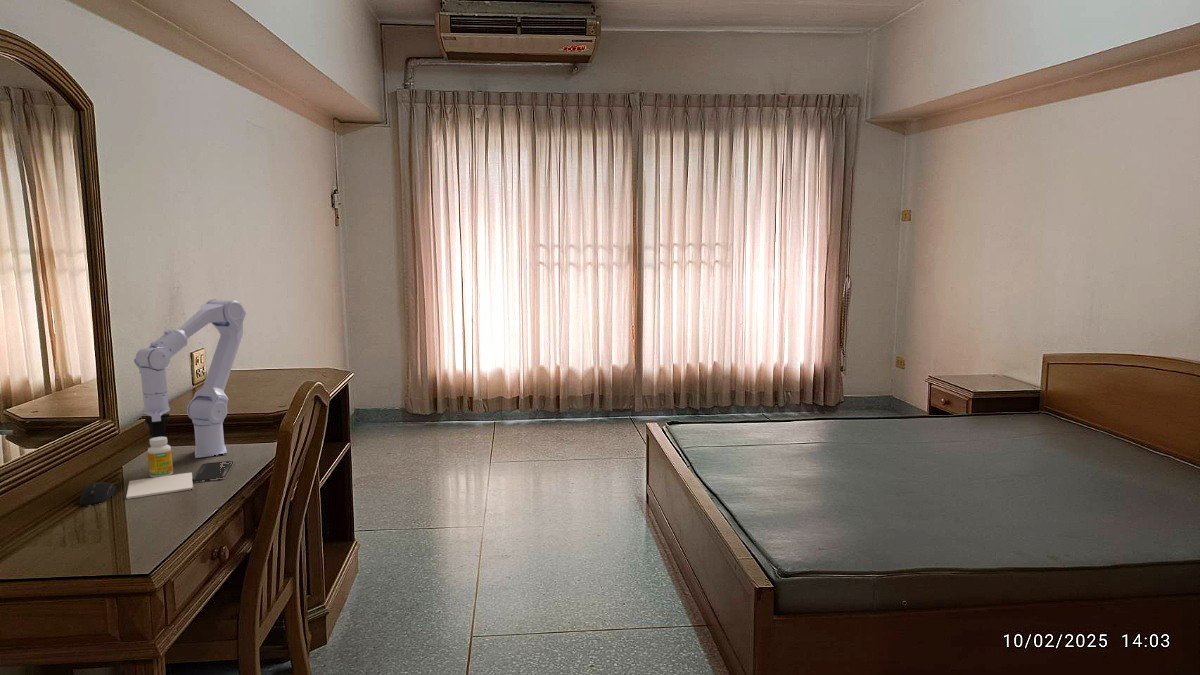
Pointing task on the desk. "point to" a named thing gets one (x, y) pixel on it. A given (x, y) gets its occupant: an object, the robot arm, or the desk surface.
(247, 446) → the desk surface
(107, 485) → the gaming mouse
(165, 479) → the sticky note pad
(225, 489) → the desk surface
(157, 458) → the supplement bottle
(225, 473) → the phone
